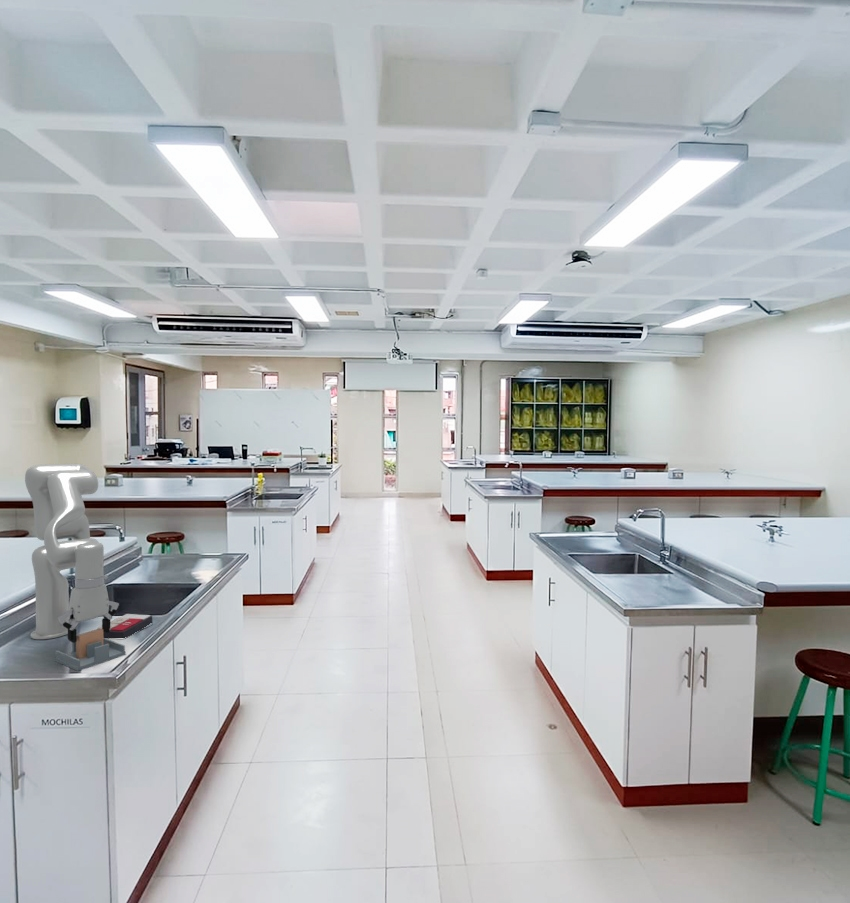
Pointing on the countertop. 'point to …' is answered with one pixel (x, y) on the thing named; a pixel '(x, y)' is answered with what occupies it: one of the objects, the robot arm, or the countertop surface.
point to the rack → (91, 654)
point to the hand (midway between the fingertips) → (89, 636)
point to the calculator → (127, 625)
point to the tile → (87, 641)
